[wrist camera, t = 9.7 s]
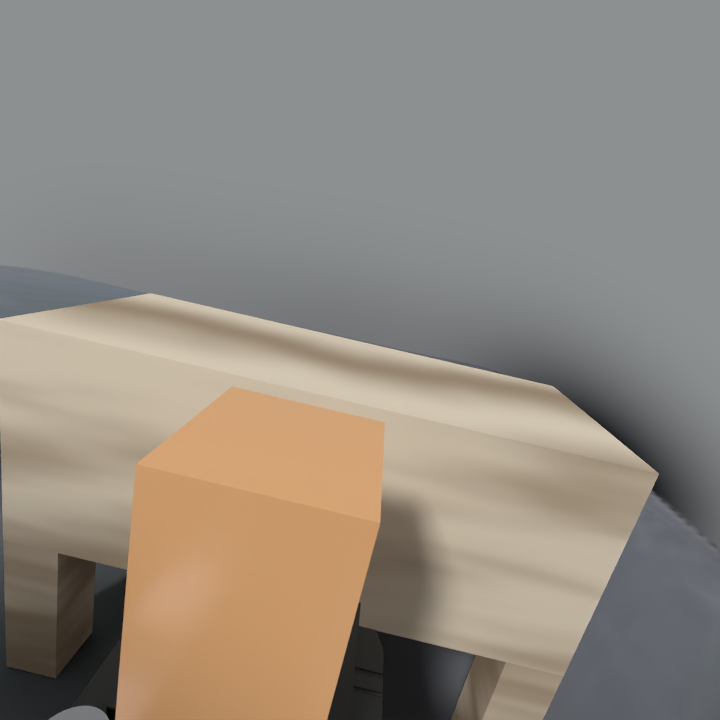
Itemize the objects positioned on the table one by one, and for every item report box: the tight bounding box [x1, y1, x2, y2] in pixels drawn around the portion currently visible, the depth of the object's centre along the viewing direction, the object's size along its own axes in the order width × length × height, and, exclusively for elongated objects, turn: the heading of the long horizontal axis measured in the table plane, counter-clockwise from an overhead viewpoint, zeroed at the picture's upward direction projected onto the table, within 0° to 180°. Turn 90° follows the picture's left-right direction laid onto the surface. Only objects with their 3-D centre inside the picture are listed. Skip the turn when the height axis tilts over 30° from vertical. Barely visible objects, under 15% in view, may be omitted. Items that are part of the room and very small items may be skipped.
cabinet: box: [0, 293, 659, 720], centre depth 18 cm, size 10×20×14 cm, turn 85°
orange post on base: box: [115, 387, 385, 720], centre depth 13 cm, size 16×8×15 cm, turn 175°
